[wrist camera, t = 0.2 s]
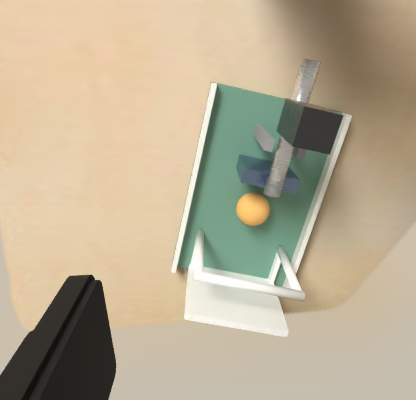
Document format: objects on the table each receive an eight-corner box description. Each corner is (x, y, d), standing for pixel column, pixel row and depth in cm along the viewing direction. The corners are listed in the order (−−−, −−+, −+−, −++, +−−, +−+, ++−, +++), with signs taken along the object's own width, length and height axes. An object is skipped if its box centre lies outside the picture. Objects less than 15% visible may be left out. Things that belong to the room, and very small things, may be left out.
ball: (239, 185, 45) (242, 196, 41) (270, 191, 45) (276, 203, 41) (231, 214, 46) (234, 227, 42) (262, 220, 46) (267, 234, 43)
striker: (265, 54, 39) (299, 50, 25) (318, 67, 40) (381, 70, 25) (236, 167, 44) (251, 217, 29) (284, 177, 44) (321, 232, 30)
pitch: (211, 81, 41) (213, 88, 30) (344, 113, 42) (392, 130, 32) (172, 263, 49) (163, 318, 39) (285, 284, 51) (306, 343, 40)
